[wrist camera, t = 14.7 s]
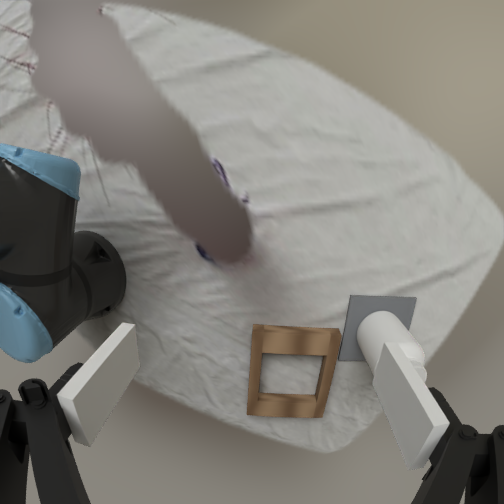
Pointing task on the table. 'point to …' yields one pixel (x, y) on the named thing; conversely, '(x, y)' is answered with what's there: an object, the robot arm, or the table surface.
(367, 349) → the pill bottle
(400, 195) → the table surface
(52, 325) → the robot arm
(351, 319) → the mat
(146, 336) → the table surface
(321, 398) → the pocket board
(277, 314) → the table surface
